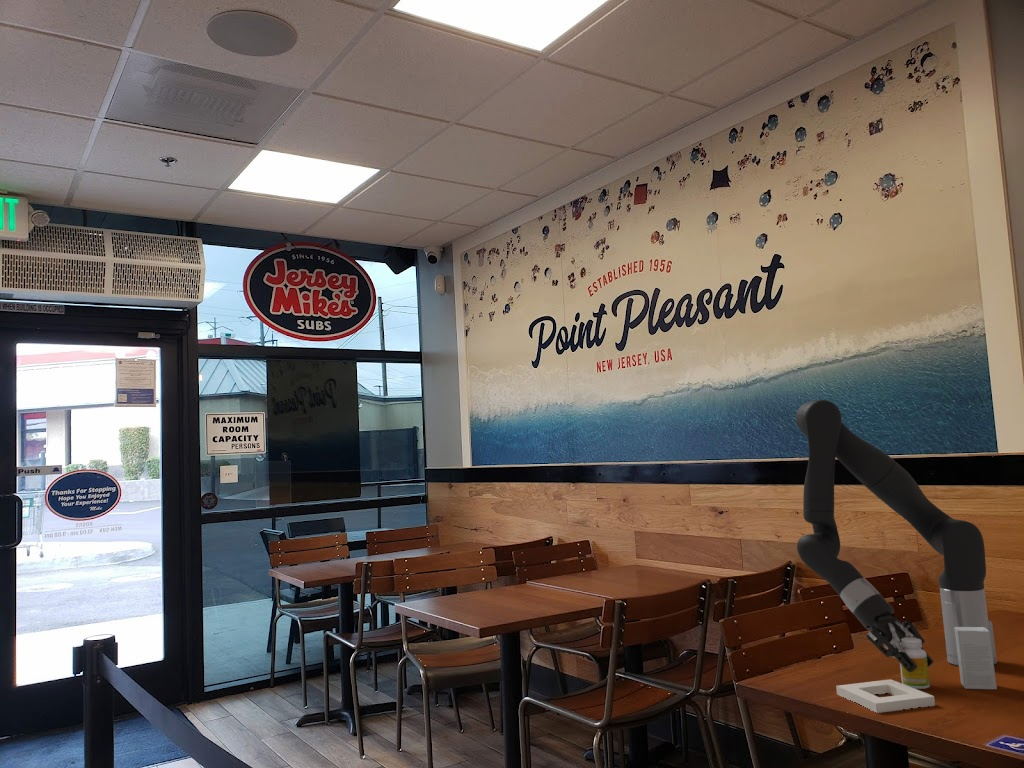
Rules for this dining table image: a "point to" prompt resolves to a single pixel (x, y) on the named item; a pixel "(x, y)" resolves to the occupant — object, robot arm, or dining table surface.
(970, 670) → the skincare box
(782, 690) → the dining table surface
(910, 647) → the supplement bottle
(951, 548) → the robot arm
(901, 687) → the hole plate
